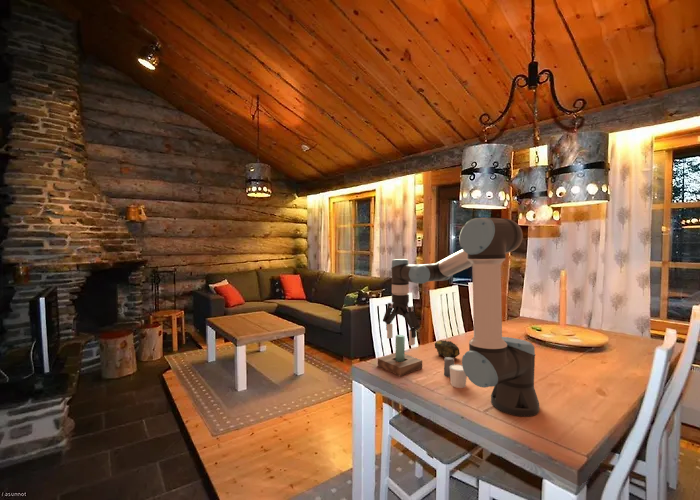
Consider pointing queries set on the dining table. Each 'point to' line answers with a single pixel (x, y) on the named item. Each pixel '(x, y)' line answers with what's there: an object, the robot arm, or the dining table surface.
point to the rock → (447, 349)
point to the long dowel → (400, 348)
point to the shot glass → (457, 376)
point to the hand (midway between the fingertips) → (400, 341)
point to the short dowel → (448, 365)
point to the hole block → (400, 364)
